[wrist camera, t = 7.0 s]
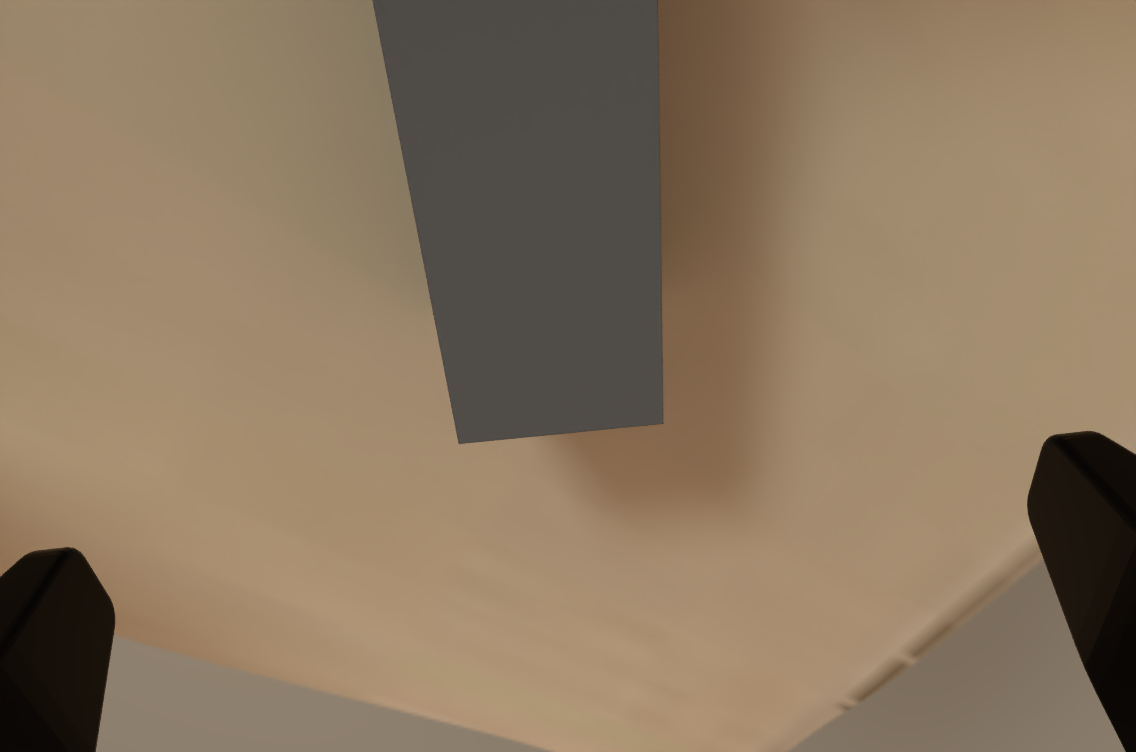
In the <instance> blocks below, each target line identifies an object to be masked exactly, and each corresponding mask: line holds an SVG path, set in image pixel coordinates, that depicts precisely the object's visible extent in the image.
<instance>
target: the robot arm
mask: <svg viewBox="0 0 1136 752" xmlns="http://www.w3.org/2000/svg"><path fill="white" fill-rule="evenodd" d="M1027 508H1028V516H1029V520H1030V523H1031V526H1032V529H1033V532H1034V534H1035V537H1036V540H1037V542H1038V545H1039V548H1040V551H1041V553H1042V556H1043V559H1044V561H1045V564H1046V567H1047V570H1048V572H1049V575H1050V578H1051V580H1052V583H1053V586H1054V588H1055V591H1056V594H1057V597H1058V599H1059V602H1060V605H1061V607H1062V610H1063V613H1064V616H1065V619H1066V621H1067V624H1068V627H1069V629H1070V632H1071V635H1072V638H1073V640H1074V643H1075V646H1076V648H1077V651H1078V653H1079V656H1080V658H1081V661H1082V663H1083V665H1084V668H1085V670H1086V672H1087V674H1088V677H1089V679H1090V681H1091V683H1092V685H1093V687H1094V689H1095V691H1096V693H1097V695H1098V697H1099V699H1100V701H1101V703H1102V705H1103V707H1104V709H1105V711H1106V713H1107V715H1108V717H1109V719H1110V721H1111V723H1112V725H1113V727H1114V729H1115V731H1116V733H1117V735H1118V737H1119V739H1120V741H1121V743H1122V745H1123V747H1124V749H1125V751H1126V752H1136V454H1134V453H1133V452H1131V451H1129V450H1128V449H1126V448H1124V447H1123V446H1121V445H1119V444H1117V443H1116V442H1114V441H1112V440H1111V439H1109V438H1107V437H1106V436H1104V435H1102V434H1100V433H1097V432H1094V431H1083V432H1074V433H1065V434H1056V435H1053V436H1050V437H1049V438H1048V439H1047V440H1046V441H1045V442H1044V444H1043V446H1042V449H1041V452H1040V456H1039V459H1038V462H1037V466H1036V469H1035V473H1034V476H1033V480H1032V483H1031V487H1030V490H1029V494H1028V500H1027ZM114 629H115V612H114V607H113V604H112V601H111V599H110V597H109V596H108V594H107V592H106V591H105V589H104V587H103V586H102V584H101V583H100V581H99V579H98V578H97V576H96V575H95V573H94V571H93V570H92V568H91V567H90V565H89V563H88V562H87V560H86V558H85V557H84V556H83V554H82V553H81V552H80V551H78V550H77V549H75V548H70V547H65V548H56V549H47V550H39V551H33V552H30V553H28V554H26V555H25V556H23V557H22V558H21V559H20V560H18V561H17V562H16V563H15V564H14V565H13V566H12V567H11V568H10V569H8V570H7V571H6V572H5V573H4V574H3V575H2V576H1V577H0V752H96V746H97V740H98V733H99V726H100V720H101V714H102V707H103V701H104V693H105V687H106V681H107V675H108V667H109V662H110V655H111V649H112V642H113V636H114Z"/></svg>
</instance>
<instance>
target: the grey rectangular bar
mask: <svg viewBox="0 0 1136 752" xmlns="http://www.w3.org/2000/svg"><path fill="white" fill-rule="evenodd" d="M373 5H374V10H375V15H376V20H377V25H378V31H379V36H380V41H381V46H382V51H383V56H384V62H385V67H386V72H387V77H388V82H389V87H390V92H391V98H392V103H393V108H394V113H395V118H396V123H397V129H398V134H399V139H400V144H401V149H402V154H403V159H404V165H405V170H406V175H407V180H408V185H409V190H410V195H411V201H412V206H413V211H414V216H415V221H416V226H417V232H418V237H419V242H420V247H421V252H422V257H423V262H424V268H425V273H426V278H427V283H428V288H429V293H430V299H431V304H432V309H433V314H434V319H435V324H436V329H437V335H438V340H439V345H440V350H441V355H442V360H443V366H444V371H445V376H446V381H447V386H448V391H449V396H450V402H451V407H452V412H453V417H454V422H455V427H456V433H457V438H458V443H459V444H463V443H474V442H484V441H494V440H504V439H514V438H524V437H534V436H544V435H555V434H565V433H575V432H585V431H595V430H605V429H615V428H625V427H635V426H646V425H656V424H663V354H662V281H661V208H660V135H659V62H658V0H373Z"/></svg>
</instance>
